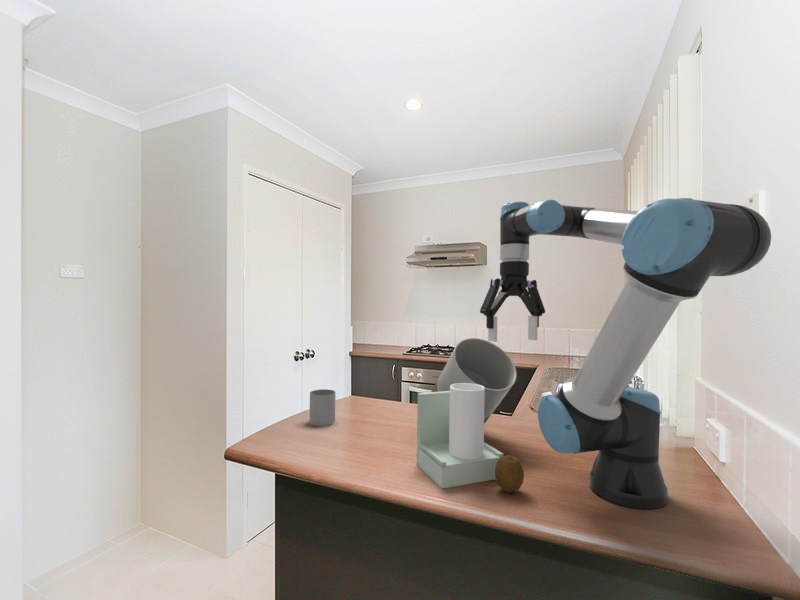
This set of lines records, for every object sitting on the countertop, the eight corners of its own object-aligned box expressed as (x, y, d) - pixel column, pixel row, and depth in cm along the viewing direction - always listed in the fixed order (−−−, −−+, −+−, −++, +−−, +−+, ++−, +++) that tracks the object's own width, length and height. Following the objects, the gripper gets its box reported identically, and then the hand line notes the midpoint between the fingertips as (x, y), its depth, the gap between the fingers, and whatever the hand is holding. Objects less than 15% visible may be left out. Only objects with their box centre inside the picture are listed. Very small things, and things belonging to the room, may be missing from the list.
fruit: (488, 491, 91) (489, 454, 90) (504, 482, 95) (504, 447, 95) (514, 501, 86) (515, 463, 86) (529, 491, 90) (529, 455, 90)
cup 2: (483, 461, 94) (484, 391, 94) (447, 457, 96) (448, 389, 96) (483, 448, 102) (484, 384, 102) (450, 445, 104) (451, 382, 104)
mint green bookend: (502, 478, 97) (504, 401, 97) (441, 488, 91) (443, 407, 91) (471, 456, 110) (472, 389, 110) (416, 464, 104) (417, 393, 104)
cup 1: (308, 419, 140) (309, 390, 140) (332, 417, 143) (333, 388, 143) (310, 427, 132) (311, 395, 132) (336, 425, 135) (337, 394, 135)
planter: (438, 380, 141) (467, 328, 125) (487, 410, 137) (523, 360, 121) (415, 418, 127) (443, 365, 111) (469, 453, 123) (506, 403, 107)
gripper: (539, 264, 119) (538, 337, 119) (467, 260, 109) (466, 340, 109) (559, 262, 113) (558, 340, 113) (484, 257, 102) (483, 343, 102)
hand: (513, 340), depth 111 cm, fingers open, 13 cm apart
